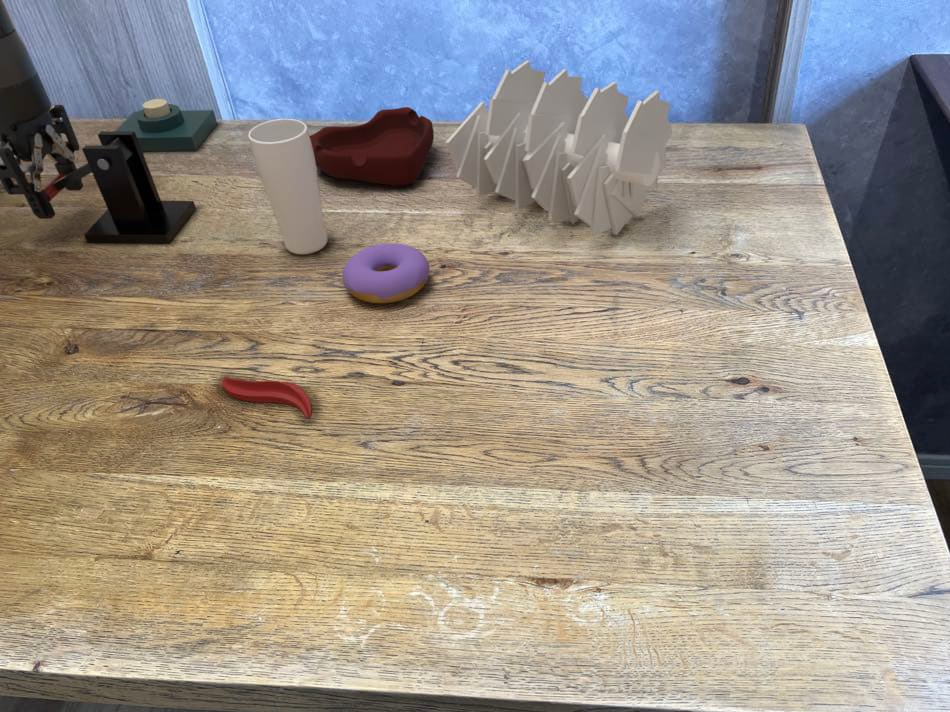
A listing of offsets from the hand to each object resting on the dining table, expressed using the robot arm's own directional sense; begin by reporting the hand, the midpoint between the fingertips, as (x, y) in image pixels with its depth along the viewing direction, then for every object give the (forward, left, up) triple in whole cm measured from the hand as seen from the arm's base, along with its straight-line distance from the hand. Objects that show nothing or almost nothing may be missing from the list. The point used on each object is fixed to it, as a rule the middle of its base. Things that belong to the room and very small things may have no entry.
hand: (61, 202), depth 107 cm
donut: (+47, +10, -3) cm, 48 cm away
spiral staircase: (+56, +35, -3) cm, 66 cm away
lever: (+5, +3, +4) cm, 7 cm away
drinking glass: (+32, +12, -3) cm, 34 cm away
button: (-11, +25, 0) cm, 27 cm away
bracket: (+9, +5, -3) cm, 10 cm away
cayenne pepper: (+49, -11, -3) cm, 50 cm away
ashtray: (+27, +33, -3) cm, 42 cm away
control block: (-11, +25, -3) cm, 27 cm away
